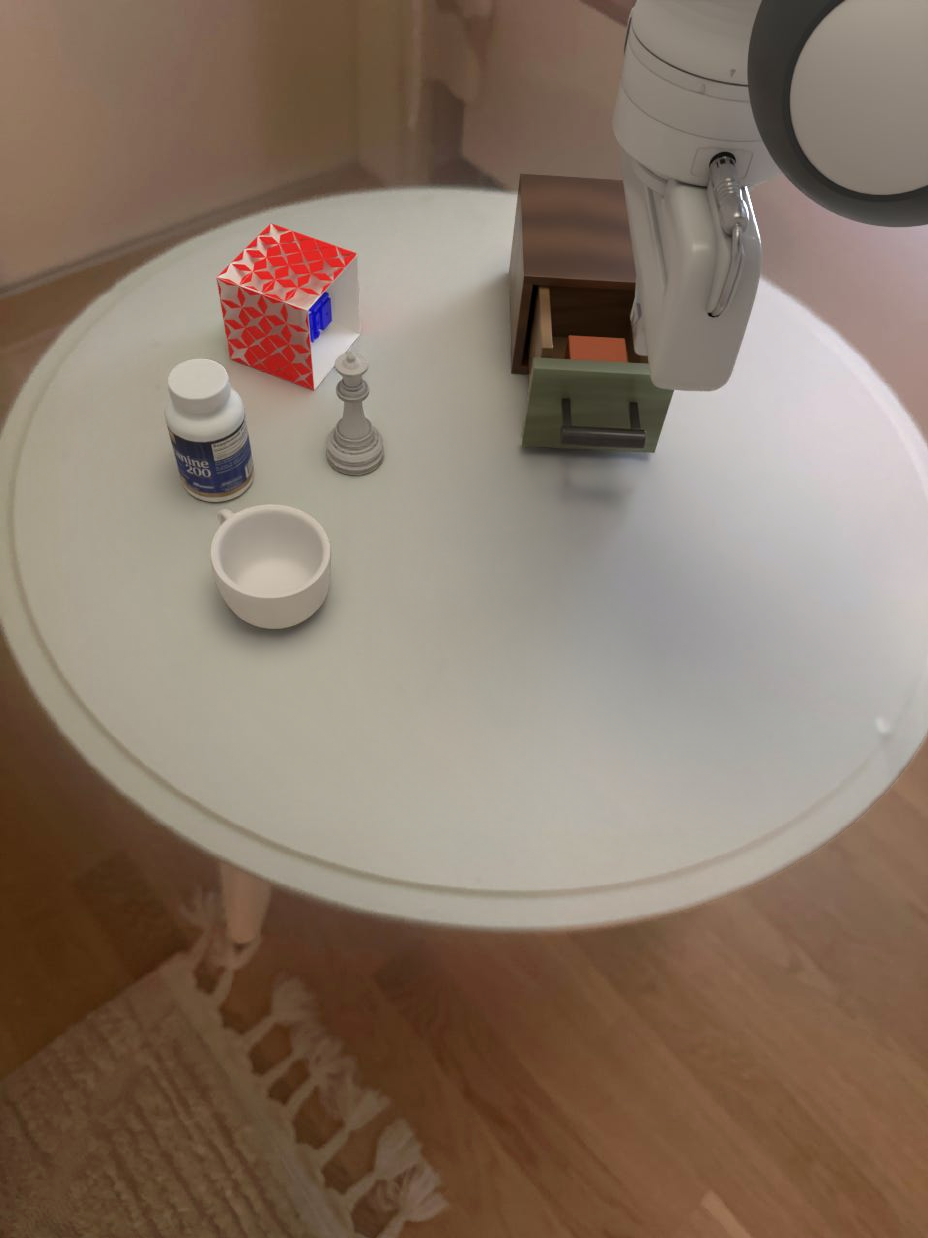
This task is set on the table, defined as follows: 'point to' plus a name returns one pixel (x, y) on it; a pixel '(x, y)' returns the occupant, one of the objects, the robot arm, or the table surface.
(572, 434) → the drawer
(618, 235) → the cabinet
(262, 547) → the teacup
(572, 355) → the block
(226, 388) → the pill bottle
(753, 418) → the table surface
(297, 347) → the red patterned box
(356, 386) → the chess piece
